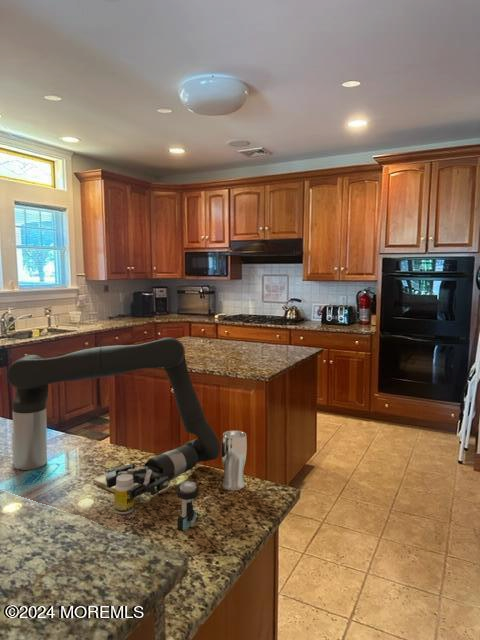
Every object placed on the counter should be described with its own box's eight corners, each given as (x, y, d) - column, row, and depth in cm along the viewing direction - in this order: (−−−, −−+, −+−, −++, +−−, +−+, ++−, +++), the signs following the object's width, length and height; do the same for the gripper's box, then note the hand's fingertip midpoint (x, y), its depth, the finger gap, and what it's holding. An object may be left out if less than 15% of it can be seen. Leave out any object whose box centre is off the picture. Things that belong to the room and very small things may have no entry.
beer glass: (249, 483, 126) (251, 432, 124) (239, 494, 119) (240, 440, 118) (227, 478, 128) (229, 428, 127) (216, 488, 122) (217, 436, 121)
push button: (187, 514, 108) (188, 475, 107) (206, 520, 106) (206, 480, 105) (171, 527, 102) (171, 486, 102) (190, 534, 100) (191, 492, 99)
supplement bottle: (128, 515, 107) (129, 482, 106) (111, 513, 108) (111, 480, 107) (137, 506, 112) (137, 474, 111) (120, 503, 113) (120, 472, 112)
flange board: (92, 482, 123) (92, 476, 123) (126, 468, 133) (126, 462, 133) (121, 495, 116) (121, 488, 116) (154, 479, 126) (154, 473, 126)
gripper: (148, 447, 125) (100, 466, 112) (185, 460, 117) (138, 482, 103) (147, 473, 125) (100, 494, 112) (185, 487, 117) (138, 513, 104)
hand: (118, 489), depth 108 cm, fingers open, 8 cm apart
